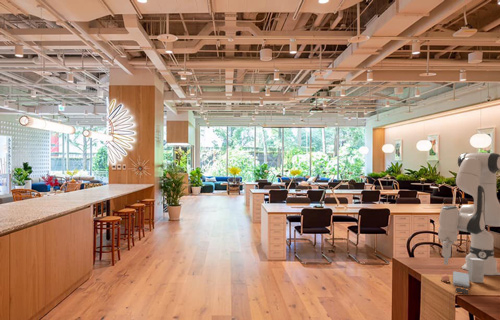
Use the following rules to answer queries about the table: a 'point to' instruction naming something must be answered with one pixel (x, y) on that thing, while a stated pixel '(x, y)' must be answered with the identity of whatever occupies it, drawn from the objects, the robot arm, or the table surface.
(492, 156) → the robot arm
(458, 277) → the ramp
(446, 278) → the ball
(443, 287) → the table surface
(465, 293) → the rail
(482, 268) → the skincare box
